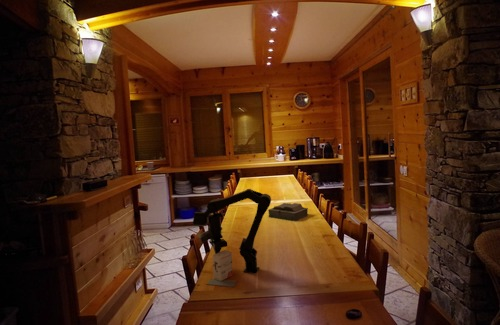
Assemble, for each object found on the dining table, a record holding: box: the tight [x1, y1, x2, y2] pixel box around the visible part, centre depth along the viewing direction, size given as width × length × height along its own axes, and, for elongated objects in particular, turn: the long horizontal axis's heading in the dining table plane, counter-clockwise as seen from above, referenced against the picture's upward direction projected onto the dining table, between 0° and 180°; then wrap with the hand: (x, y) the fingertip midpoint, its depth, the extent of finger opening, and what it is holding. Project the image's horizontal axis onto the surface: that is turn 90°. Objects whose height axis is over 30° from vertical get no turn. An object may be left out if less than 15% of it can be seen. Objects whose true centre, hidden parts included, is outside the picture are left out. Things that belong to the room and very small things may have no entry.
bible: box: [267, 202, 309, 222], centre depth 267 cm, size 23×27×10 cm
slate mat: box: [206, 278, 238, 288], centre depth 159 cm, size 6×13×1 cm, turn 73°
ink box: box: [212, 249, 234, 281], centre depth 165 cm, size 9×5×12 cm, turn 141°
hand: (217, 255), depth 173 cm, fingers closed
